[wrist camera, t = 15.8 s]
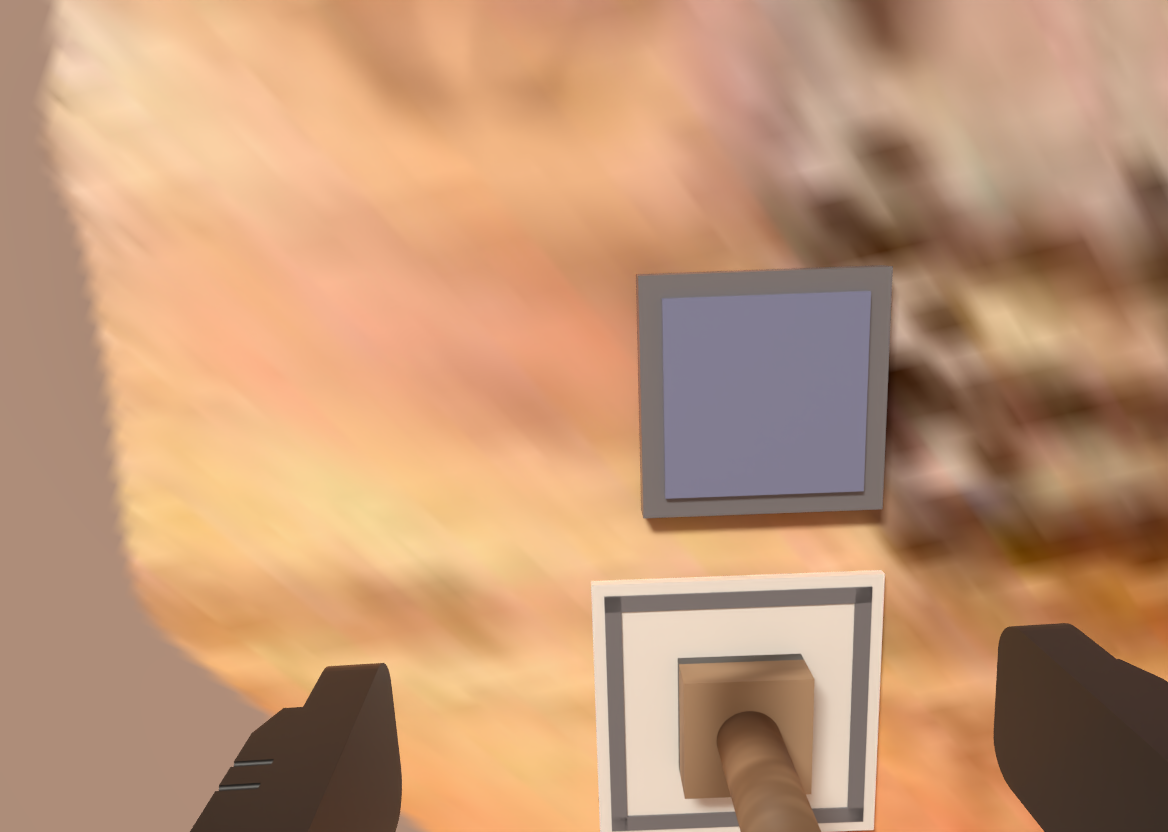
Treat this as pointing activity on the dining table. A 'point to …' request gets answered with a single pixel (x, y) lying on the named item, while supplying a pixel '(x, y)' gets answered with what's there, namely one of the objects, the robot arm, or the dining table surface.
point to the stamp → (749, 737)
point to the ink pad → (763, 390)
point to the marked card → (733, 628)
